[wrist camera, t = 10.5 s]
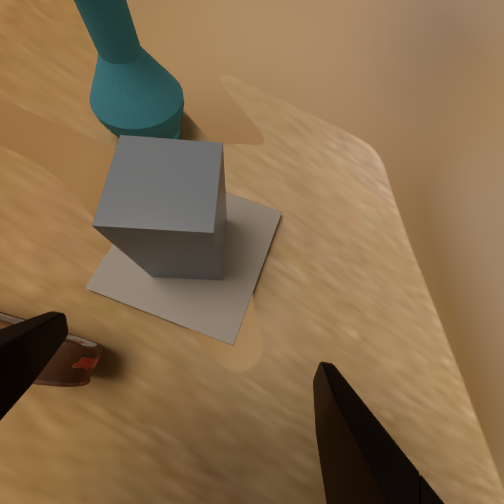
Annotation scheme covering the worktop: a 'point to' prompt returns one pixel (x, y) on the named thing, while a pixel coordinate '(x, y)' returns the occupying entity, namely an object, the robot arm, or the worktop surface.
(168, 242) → the gray rectangular block
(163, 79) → the teal vase
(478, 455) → the worktop surface
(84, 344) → the tin
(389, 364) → the worktop surface
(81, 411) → the worktop surface
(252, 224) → the thin square base plate
